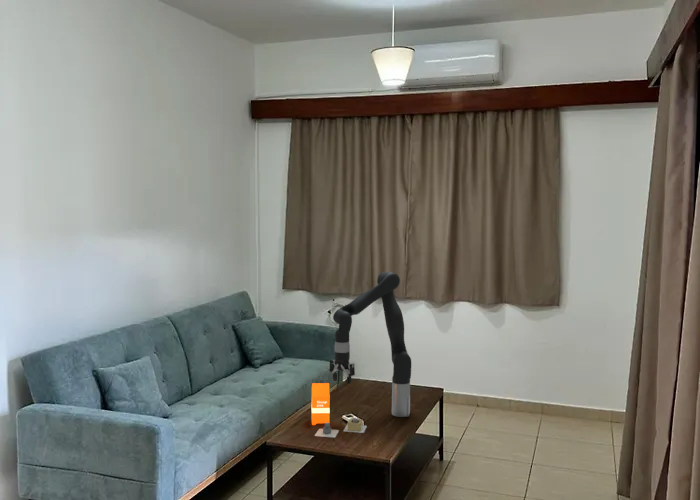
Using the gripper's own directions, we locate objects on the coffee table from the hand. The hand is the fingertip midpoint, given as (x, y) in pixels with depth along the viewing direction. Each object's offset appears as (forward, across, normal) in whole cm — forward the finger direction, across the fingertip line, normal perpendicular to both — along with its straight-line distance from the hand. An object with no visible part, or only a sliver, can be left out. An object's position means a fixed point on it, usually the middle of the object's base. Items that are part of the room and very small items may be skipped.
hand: (341, 382), depth 331 cm
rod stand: (+20, -12, +5) cm, 24 cm away
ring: (+20, -12, +5) cm, 24 cm away
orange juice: (+21, +8, +7) cm, 23 cm away
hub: (+20, -6, +18) cm, 28 cm away
